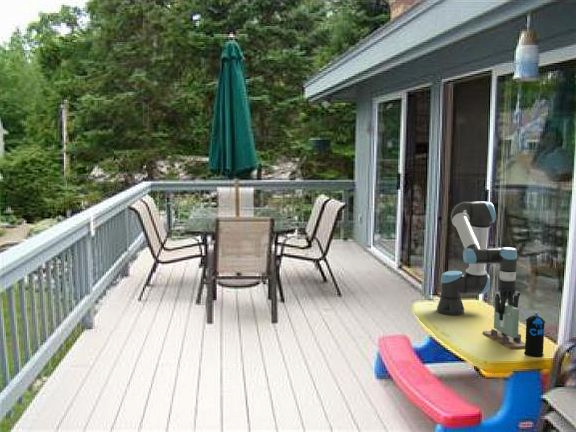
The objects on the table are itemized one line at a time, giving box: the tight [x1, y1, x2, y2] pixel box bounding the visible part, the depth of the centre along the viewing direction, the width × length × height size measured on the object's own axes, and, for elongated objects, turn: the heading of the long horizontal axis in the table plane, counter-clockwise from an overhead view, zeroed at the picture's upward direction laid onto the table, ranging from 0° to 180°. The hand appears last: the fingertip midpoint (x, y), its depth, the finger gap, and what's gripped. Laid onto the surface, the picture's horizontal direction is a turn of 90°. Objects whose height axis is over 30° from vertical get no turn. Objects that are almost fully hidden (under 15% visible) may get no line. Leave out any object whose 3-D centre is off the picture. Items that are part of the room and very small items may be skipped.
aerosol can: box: [523, 311, 546, 358], centre depth 269 cm, size 8×8×20 cm
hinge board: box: [482, 328, 525, 350], centre depth 289 cm, size 24×10×4 cm, turn 12°
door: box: [493, 300, 520, 338], centre depth 287 cm, size 16×4×14 cm, turn 12°
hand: (505, 326), depth 288 cm, fingers closed on door, 3 cm apart
